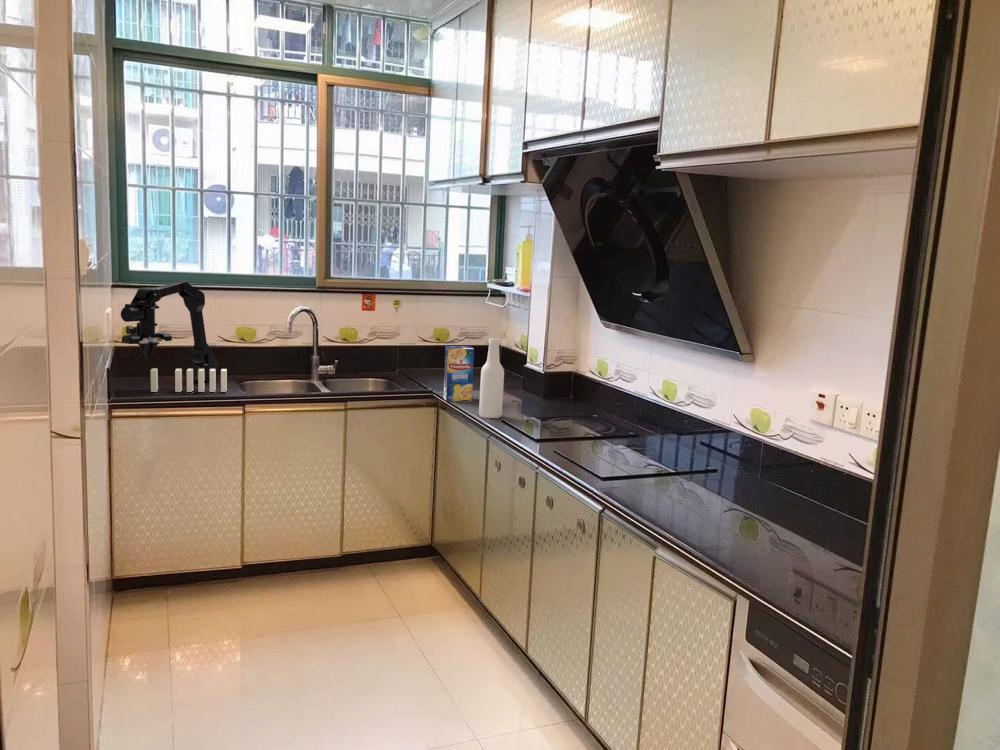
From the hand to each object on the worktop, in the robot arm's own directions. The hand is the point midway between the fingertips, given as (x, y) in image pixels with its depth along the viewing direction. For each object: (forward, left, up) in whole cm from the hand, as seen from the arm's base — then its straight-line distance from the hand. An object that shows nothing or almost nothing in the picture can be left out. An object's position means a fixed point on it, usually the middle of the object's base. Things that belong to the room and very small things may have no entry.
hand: (147, 359), depth 320 cm
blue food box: (-91, +84, -13) cm, 124 cm away
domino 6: (-24, +16, -13) cm, 31 cm away
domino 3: (-13, +9, -13) cm, 20 cm away
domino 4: (-16, +11, -13) cm, 24 cm away
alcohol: (-77, +113, -13) cm, 137 cm away
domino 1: (-2, +1, -13) cm, 13 cm away
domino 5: (-20, +14, -13) cm, 27 cm away
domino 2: (-9, +6, -13) cm, 17 cm away
